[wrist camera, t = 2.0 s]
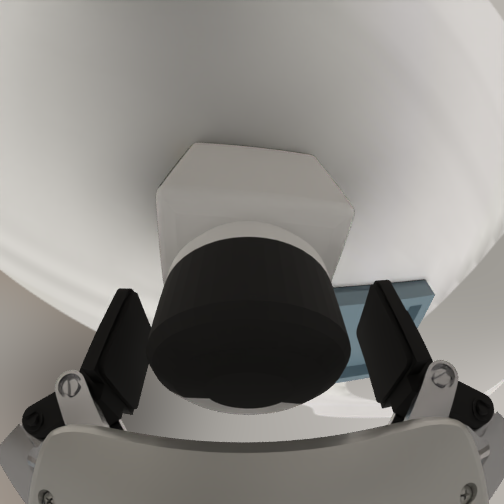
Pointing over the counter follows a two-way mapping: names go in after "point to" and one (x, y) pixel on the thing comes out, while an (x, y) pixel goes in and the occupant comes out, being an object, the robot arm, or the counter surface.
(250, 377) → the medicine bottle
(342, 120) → the counter surface
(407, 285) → the tray
